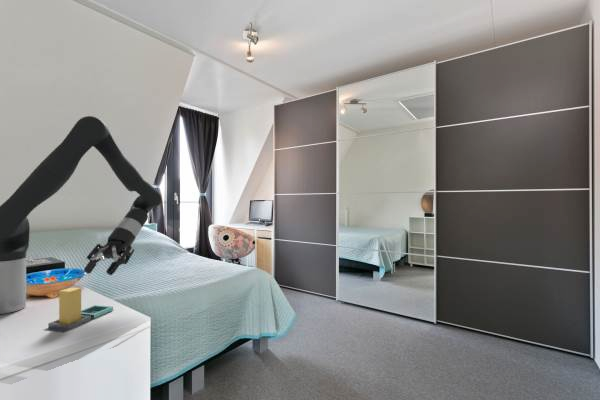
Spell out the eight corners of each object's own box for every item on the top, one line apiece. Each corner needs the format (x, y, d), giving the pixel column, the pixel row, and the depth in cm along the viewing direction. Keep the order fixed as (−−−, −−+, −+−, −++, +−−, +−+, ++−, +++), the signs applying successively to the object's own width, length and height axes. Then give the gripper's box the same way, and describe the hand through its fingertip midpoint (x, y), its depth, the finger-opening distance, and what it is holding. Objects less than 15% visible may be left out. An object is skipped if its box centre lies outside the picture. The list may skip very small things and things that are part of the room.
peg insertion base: (42, 334, 83) (42, 325, 83) (96, 311, 99) (96, 304, 99) (63, 336, 81) (63, 328, 81) (114, 313, 98) (114, 306, 98)
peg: (59, 325, 85) (59, 291, 85) (71, 320, 89) (71, 287, 89) (69, 326, 85) (69, 291, 84) (81, 321, 88) (81, 288, 88)
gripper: (102, 226, 105) (71, 265, 94) (137, 227, 103) (109, 267, 91) (114, 239, 111) (86, 277, 100) (148, 240, 108) (122, 280, 97)
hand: (97, 273), depth 95 cm, fingers open, 8 cm apart
